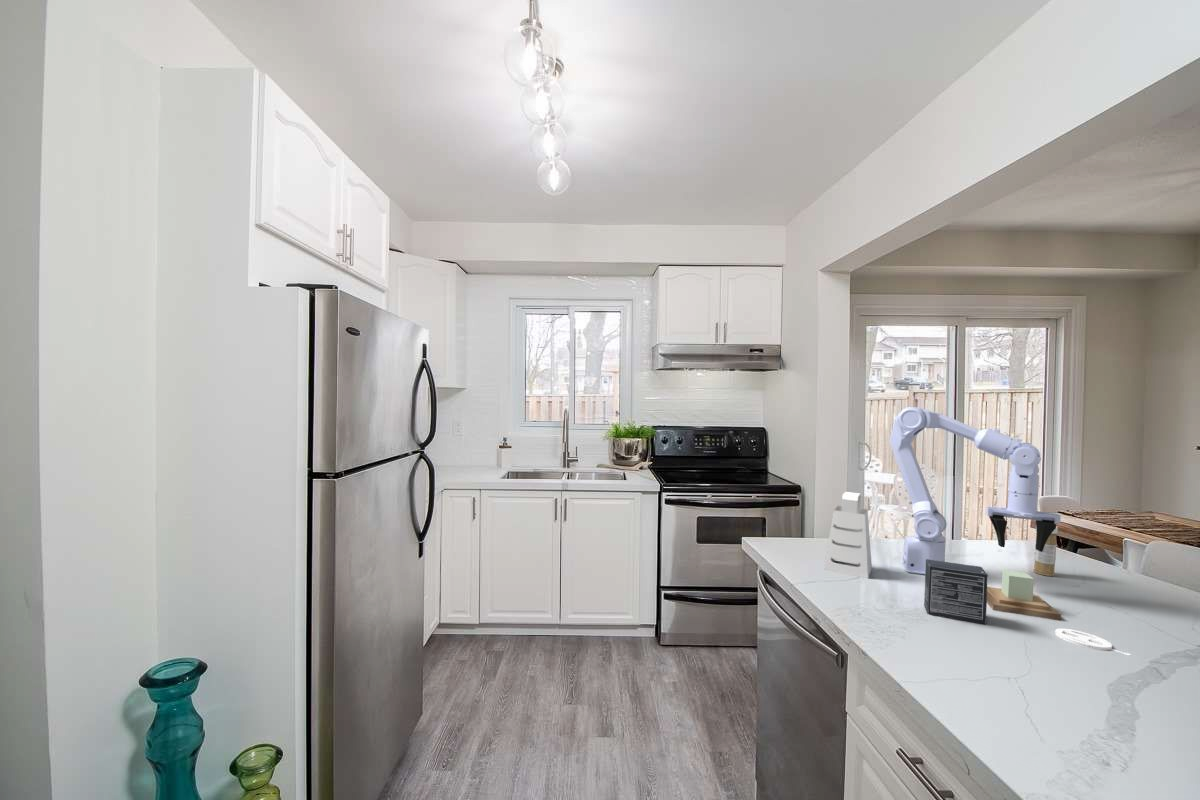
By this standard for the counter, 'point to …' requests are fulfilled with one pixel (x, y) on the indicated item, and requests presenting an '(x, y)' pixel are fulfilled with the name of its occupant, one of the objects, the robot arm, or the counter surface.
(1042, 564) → the sprinkles bottle
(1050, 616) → the walnut base
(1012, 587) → the sage block
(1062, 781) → the counter surface
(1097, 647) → the pendant
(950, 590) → the small box
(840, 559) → the grater
